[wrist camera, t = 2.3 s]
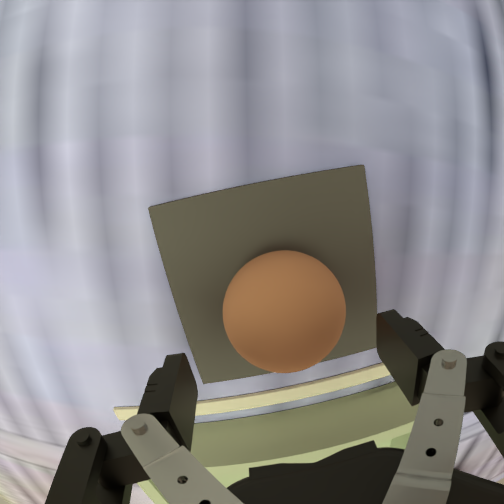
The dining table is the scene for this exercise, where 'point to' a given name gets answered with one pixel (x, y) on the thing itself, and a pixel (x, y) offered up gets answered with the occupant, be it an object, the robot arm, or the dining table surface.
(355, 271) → the mat
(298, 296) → the ball
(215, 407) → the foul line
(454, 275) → the dining table surface
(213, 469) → the tray
